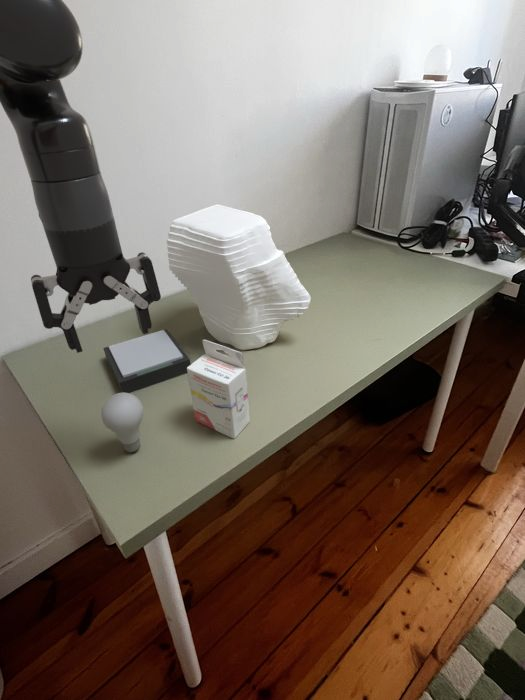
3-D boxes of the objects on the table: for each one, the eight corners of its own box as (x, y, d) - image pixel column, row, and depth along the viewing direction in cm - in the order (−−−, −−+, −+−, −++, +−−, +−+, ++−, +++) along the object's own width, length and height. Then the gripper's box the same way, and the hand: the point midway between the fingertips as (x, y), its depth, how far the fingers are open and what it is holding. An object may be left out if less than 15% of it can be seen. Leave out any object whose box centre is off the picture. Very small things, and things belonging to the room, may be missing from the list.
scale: (123, 395, 82) (118, 380, 80) (106, 359, 92) (102, 345, 90) (192, 371, 87) (189, 356, 85) (169, 340, 98) (166, 326, 96)
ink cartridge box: (194, 422, 75) (181, 352, 67) (212, 405, 78) (201, 336, 70) (234, 440, 71) (226, 367, 62) (251, 422, 74) (245, 351, 66)
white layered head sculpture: (240, 300, 112) (231, 199, 98) (314, 341, 94) (316, 224, 80) (168, 329, 102) (146, 220, 87) (235, 382, 84) (222, 255, 69)
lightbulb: (145, 430, 74) (131, 379, 68) (158, 453, 69) (144, 400, 63) (109, 445, 71) (91, 394, 65) (120, 470, 67) (102, 416, 61)
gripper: (9, 239, 43) (59, 371, 52) (149, 214, 48) (173, 337, 57) (7, 221, 49) (52, 342, 57) (133, 199, 54) (157, 314, 63)
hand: (112, 340), depth 57 cm, fingers open, 8 cm apart
